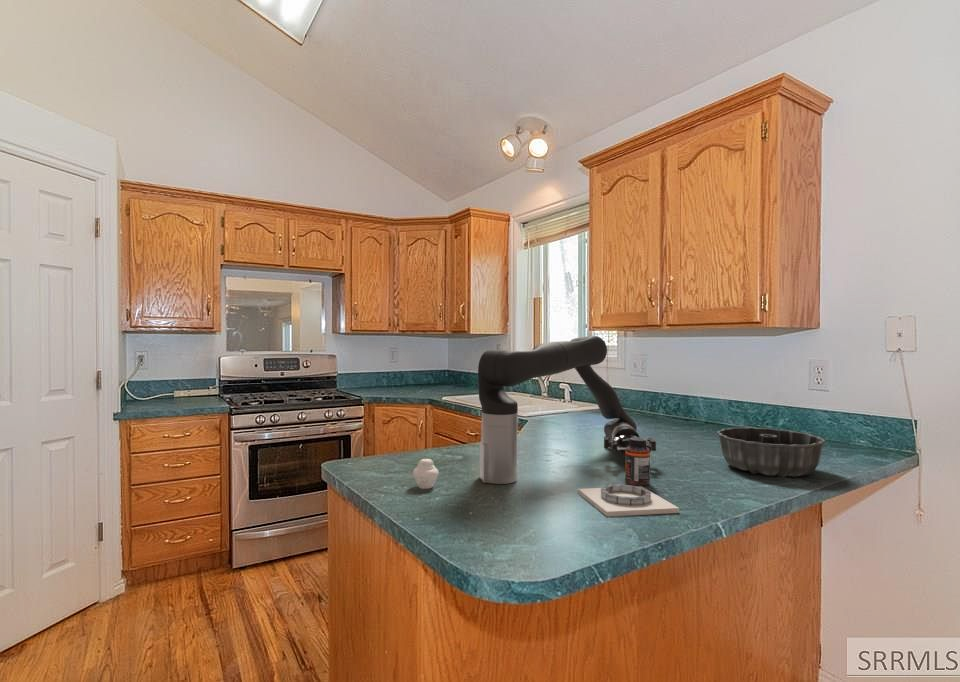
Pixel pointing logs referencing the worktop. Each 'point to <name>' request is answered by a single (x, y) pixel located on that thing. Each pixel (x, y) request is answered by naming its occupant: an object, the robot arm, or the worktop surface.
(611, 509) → the board
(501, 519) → the worktop surface
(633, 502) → the collar
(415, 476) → the white lidded jar
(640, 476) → the supplement bottle
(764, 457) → the bundt pan
